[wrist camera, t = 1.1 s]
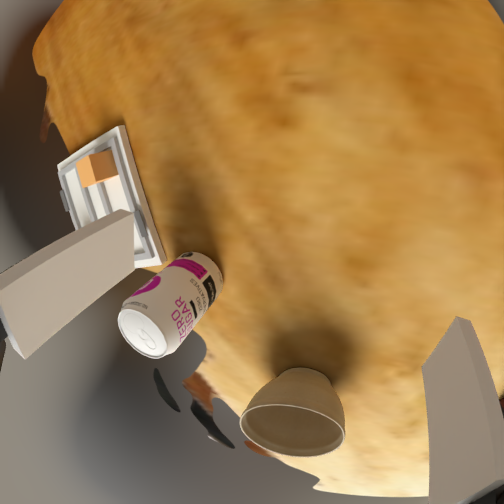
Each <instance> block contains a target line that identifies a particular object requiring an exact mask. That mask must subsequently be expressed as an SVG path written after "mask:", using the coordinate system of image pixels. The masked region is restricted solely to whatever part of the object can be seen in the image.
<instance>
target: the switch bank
mask: <svg viewBox="0 0 504 504" xmlns="http://www.w3.org/2000/svg"><path fill="white" fill-rule="evenodd" d="M109 150H112V152H113V156H114V160H115V163H116V167H117V170H118V174H119V175H117V176H115V177H113V178H110V179H108V180H106V181H103V182H100V183H97V184H94V185H91V186H88V187H85V188H82V184H81V181H80V177H79V174H78V170H77V167H76V162H78V161H79V160H81V159H83V158H84V157H86V156H87V155H90V154H94V153H99V152H104V151H109ZM57 166H58V170H59V172H58V175H59V179H60V182H61V186H62V189H63V190H62V191H60V194H61V198H62V201H63V204H64V207H65V210H66V212H67V211H69V212H70V215H71V218H72V221H73V224H74V226H75V229H76V230H78V229H80V228H82V227H84V226H86V225H88V224H90V223H92V222H94V221H96V220H98V219H100V218H102V217H104V216H106V215H108V214H110V213H112V212H114V211H117V210H119V209H123V210H126V211H130V212H133V213H134V263H135V268H141V267H148V266H156V265H162V264H163V263H165V262H166V261H167V259H166V256H165V253H164V250H163V248H162V245H161V242H160V239H159V236H158V234H157V231H156V228H155V225H154V222H153V219H152V216H151V213H150V210H149V207H148V204H147V201H146V198H145V195H144V191H143V188H142V185H141V182H140V178H139V175H138V172H137V168H136V165H135V161H134V158H133V154H132V151H131V147H130V144H129V140H128V136H127V132H126V128H125V125H120V126H117V127H115V128H113V129H112V130H110V131H108V132H106V133H105V134H103V135H102V136H100V137H98V138H97V139H95V140H94V141H92V142H90V143H89V144H87V145H86V146H84V147H83V148H81V149H80V150H78V151H77V152H75V153H74V154H72V155H71V156H70V157H68V158H67V159H65V160H64V161H63V162H61V163H60V164H58V165H57Z"/></svg>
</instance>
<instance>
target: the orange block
mask: <svg viewBox="0 0 504 504" xmlns="http://www.w3.org/2000/svg"><path fill="white" fill-rule="evenodd" d="M76 167H77V170H78V174H79V177H80V181H81V184H82V188H85V187H88V186H91V185H94V184H97V183H100V182H103V181H106V180H108V179H110V178H113V177H115V176H117V175H119V174H118V170H117V167H116V163H115V160H114V156H113V152H112V150H109V151H104V152H99V153H94V154H90V155H87V156H86V157H84V158H83V159H81V160H79V161H78V162H76Z"/></svg>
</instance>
